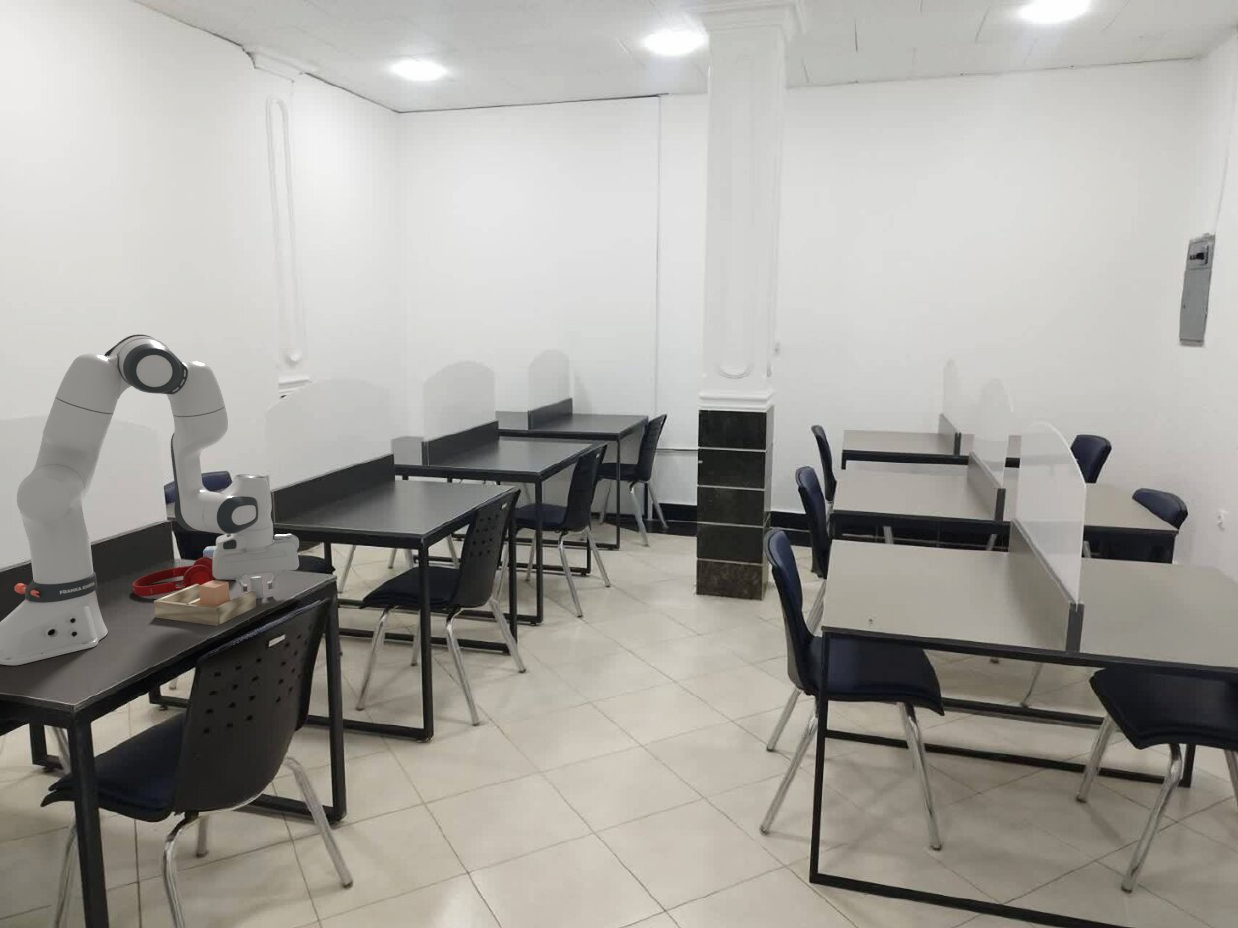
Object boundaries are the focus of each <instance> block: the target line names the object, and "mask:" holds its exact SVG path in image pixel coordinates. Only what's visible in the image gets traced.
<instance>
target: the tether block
mask: <svg viewBox="0 0 1238 928" xmlns="http://www.w3.org/2000/svg"><path fill="white" fill-rule="evenodd" d="M249 580H250V582H249V583H250V591H255V593H256V600H257V599H258V600H259V599H262V598H264V582H263V581H264V580H263V577H262V576H259V575H257V576H252V577H250V578H249ZM199 594H200V605H201V606H209V607H217V606H219V605H221V604H224V603H226V602H228V601H230V600H231V598H230V584H229V581H224V580H222V581H215V580H212V581H210V582H207V583H205V584H202V585H200V586H199Z"/></svg>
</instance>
